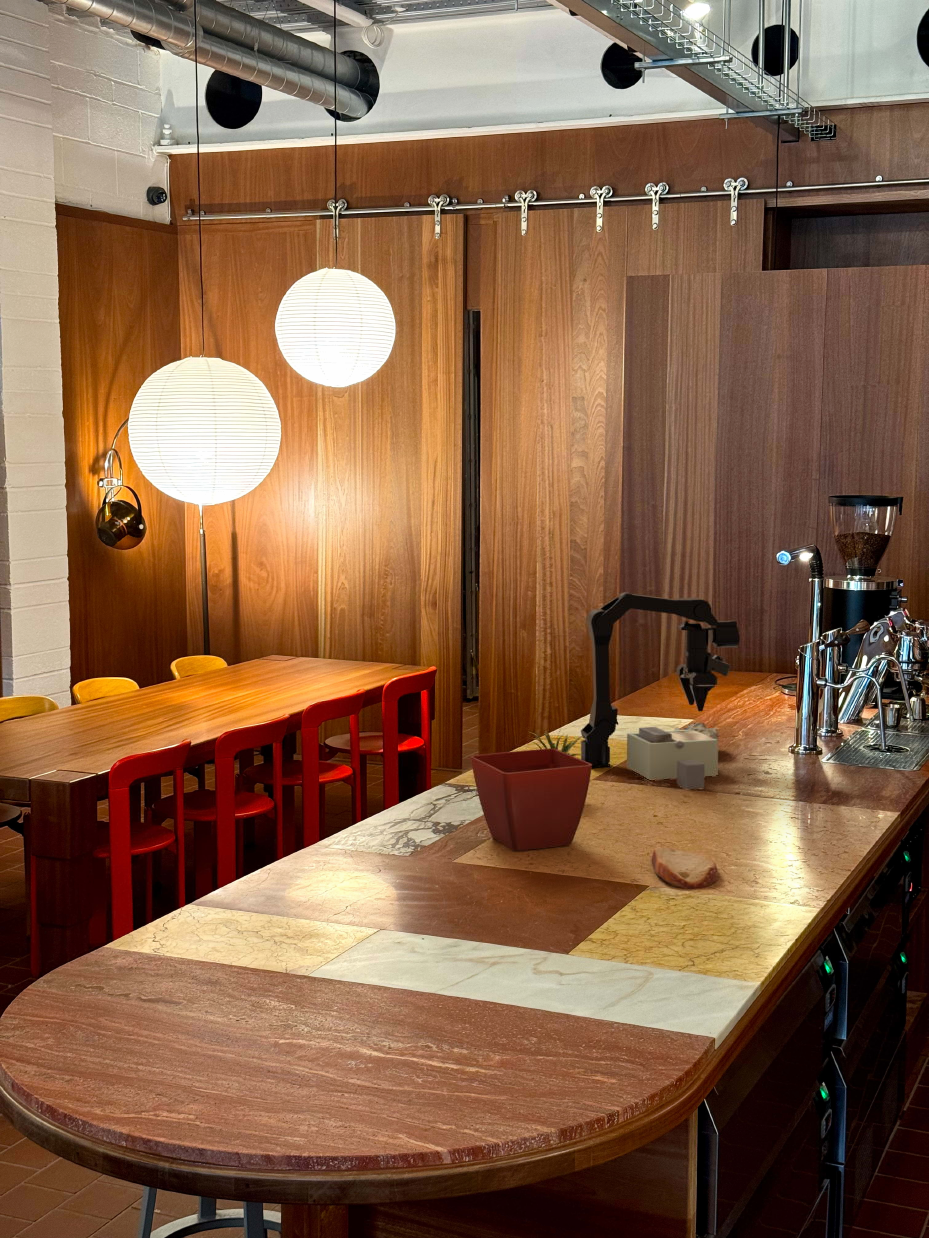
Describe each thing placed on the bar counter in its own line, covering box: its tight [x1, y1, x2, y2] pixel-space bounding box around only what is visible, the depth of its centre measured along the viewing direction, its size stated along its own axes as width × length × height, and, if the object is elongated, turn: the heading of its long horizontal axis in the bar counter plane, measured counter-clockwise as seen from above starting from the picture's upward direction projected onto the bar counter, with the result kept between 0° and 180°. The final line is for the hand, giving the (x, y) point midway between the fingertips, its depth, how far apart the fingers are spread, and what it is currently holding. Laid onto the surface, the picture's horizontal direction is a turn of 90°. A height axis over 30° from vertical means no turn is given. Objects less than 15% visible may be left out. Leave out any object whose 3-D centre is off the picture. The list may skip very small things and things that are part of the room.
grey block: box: [676, 760, 705, 790], centre depth 320 cm, size 4×6×6 cm
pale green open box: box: [626, 729, 719, 781], centre depth 335 cm, size 18×16×9 cm
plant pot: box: [470, 747, 593, 852], centre depth 273 cm, size 19×19×17 cm
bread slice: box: [651, 846, 719, 890], centre depth 252 cm, size 18×18×4 cm
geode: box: [673, 722, 719, 741], centre depth 357 cm, size 17×9×15 cm
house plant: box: [529, 728, 585, 757], centre depth 310 cm, size 14×14×16 cm
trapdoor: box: [638, 726, 714, 743], centre depth 335 cm, size 16×12×4 cm
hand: (695, 708), depth 346 cm, fingers open, 9 cm apart
